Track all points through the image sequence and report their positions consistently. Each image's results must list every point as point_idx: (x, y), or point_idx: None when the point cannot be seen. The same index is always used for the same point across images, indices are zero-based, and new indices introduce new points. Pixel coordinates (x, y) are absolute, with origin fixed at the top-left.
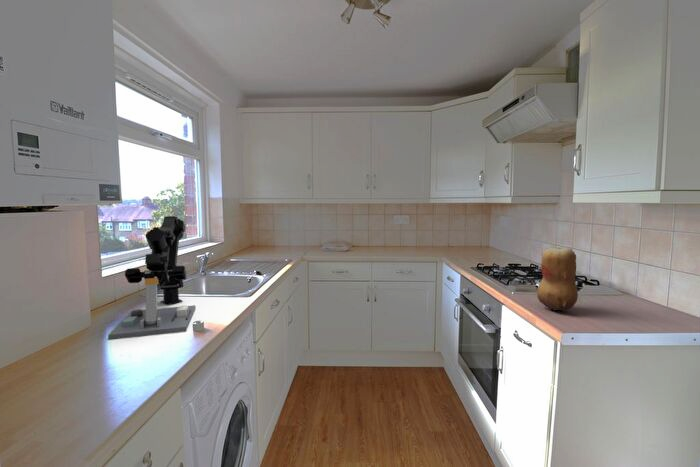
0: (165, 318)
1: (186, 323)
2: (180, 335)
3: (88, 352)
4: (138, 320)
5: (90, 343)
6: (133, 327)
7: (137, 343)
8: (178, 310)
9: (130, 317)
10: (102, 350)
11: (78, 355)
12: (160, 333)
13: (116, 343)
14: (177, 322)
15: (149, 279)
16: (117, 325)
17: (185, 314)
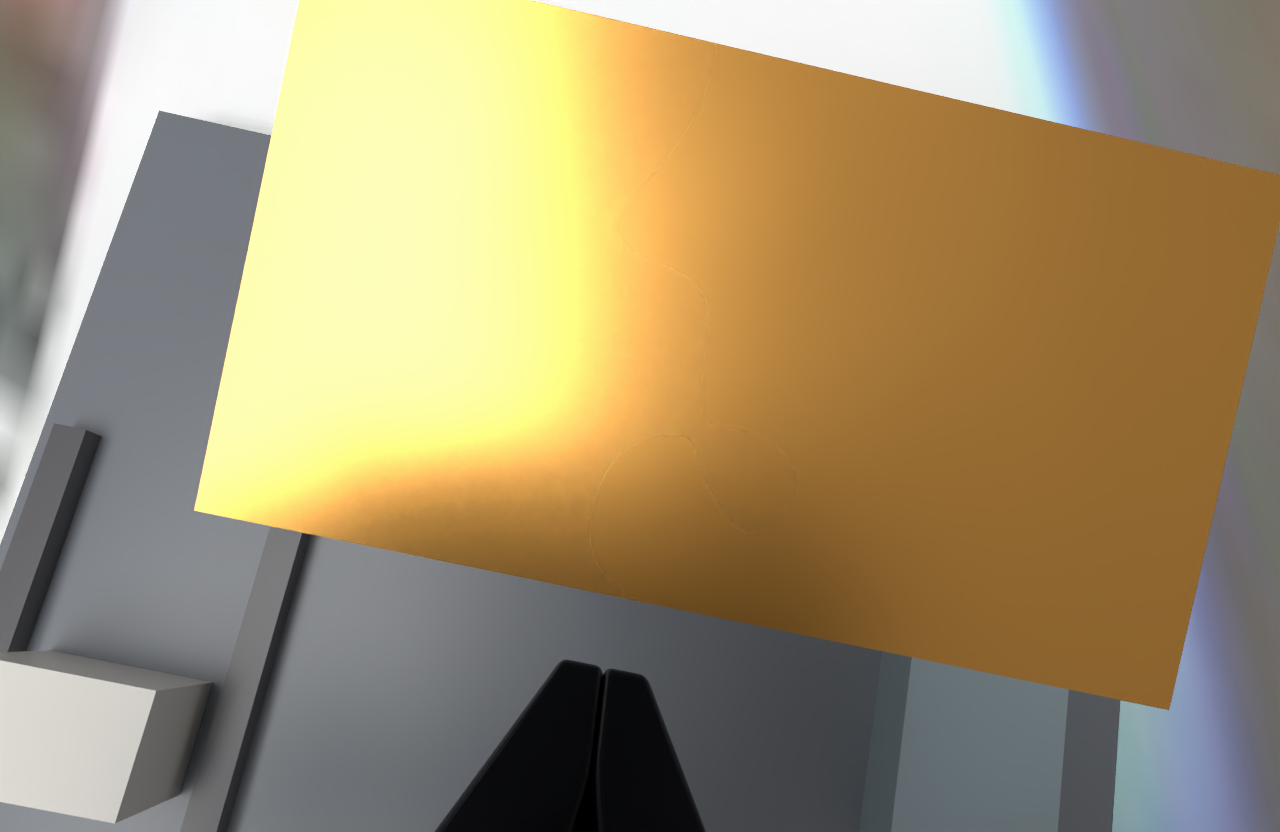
0: (408, 710)
1: (124, 249)
2: (280, 38)
3: (1203, 61)
4: (841, 830)
5: (1269, 325)
6: None
7: (762, 49)
8: (121, 681)
9: (990, 820)
10: (1083, 42)
11: (1271, 34)
12: None
13: None
14: None
15: (901, 123)
16: (1119, 708)
17: (40, 656)
